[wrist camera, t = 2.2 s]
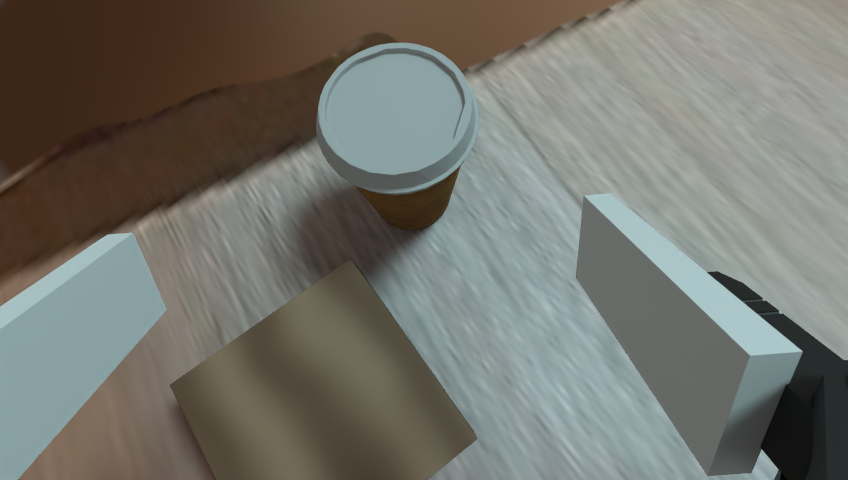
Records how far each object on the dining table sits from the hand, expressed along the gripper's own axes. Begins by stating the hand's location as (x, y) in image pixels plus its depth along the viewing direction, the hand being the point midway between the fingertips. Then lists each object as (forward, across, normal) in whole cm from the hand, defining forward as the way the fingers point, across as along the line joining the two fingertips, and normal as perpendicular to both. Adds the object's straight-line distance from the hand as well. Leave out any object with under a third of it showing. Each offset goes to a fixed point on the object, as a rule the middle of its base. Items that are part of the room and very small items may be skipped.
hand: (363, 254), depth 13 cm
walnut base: (+10, -6, -18) cm, 21 cm away
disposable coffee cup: (+22, +1, -6) cm, 23 cm away
